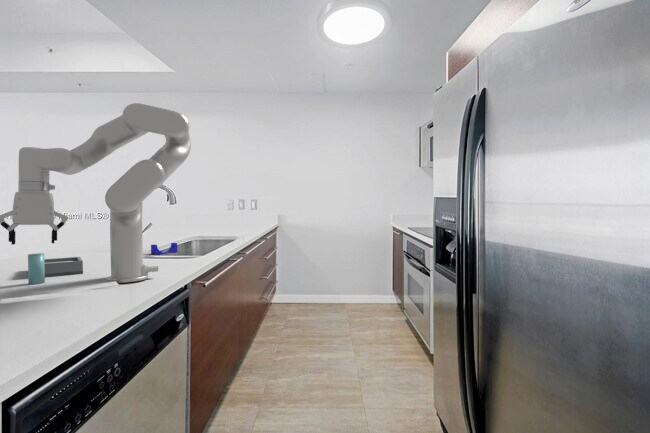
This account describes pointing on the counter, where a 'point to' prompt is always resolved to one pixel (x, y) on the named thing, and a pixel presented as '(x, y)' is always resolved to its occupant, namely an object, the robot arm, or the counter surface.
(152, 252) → the cable clip
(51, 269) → the walled box
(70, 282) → the counter surface
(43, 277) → the teal cylinder
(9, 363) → the counter surface
